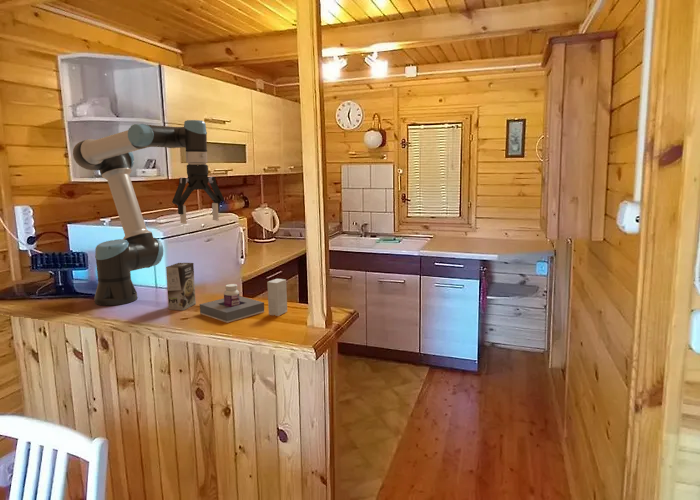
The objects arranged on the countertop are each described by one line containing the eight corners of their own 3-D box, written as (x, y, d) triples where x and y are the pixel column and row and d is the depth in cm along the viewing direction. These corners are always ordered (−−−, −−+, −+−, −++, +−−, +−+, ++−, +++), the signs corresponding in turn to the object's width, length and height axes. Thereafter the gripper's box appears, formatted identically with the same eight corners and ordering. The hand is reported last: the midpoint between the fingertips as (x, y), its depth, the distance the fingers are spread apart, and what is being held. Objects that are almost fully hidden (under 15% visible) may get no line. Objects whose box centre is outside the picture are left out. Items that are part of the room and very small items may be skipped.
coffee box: (184, 310, 179) (181, 267, 176) (168, 309, 180) (165, 266, 177) (196, 303, 188) (194, 262, 185) (181, 303, 189) (178, 261, 186)
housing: (200, 313, 175) (199, 304, 174) (237, 304, 187) (236, 295, 186) (227, 322, 165) (226, 312, 164) (264, 311, 177) (264, 302, 176)
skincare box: (277, 310, 179) (276, 278, 177) (287, 311, 177) (286, 279, 175) (267, 314, 173) (266, 281, 171) (278, 316, 171) (276, 282, 169)
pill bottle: (234, 314, 172) (233, 287, 171) (221, 312, 174) (220, 286, 173) (242, 310, 177) (241, 284, 176) (230, 308, 179) (229, 282, 178)
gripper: (171, 163, 168) (174, 225, 171) (231, 164, 187) (233, 219, 190) (159, 163, 173) (163, 223, 176) (220, 164, 191) (222, 218, 195)
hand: (200, 221), depth 183 cm, fingers open, 13 cm apart
